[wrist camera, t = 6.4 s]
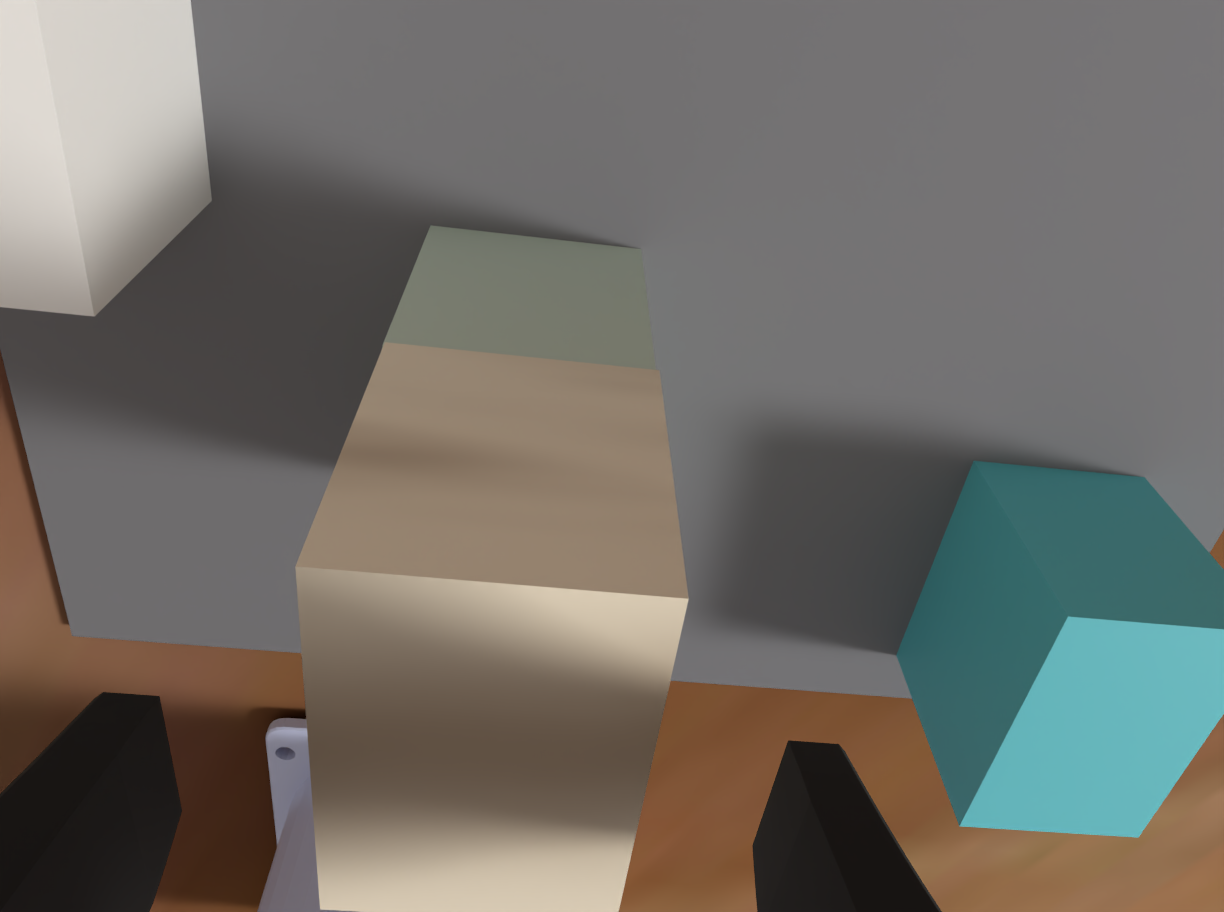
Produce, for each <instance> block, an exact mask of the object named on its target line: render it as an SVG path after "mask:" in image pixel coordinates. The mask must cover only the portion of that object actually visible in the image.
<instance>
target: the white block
mask: <svg viewBox="0 0 1224 912" xmlns="http://www.w3.org/2000/svg"><path fill="white" fill-rule="evenodd" d="M211 201H212V197H211V187H210V178H209V168H208V159H207V150H206V140H205V131H204V121H203V112H202V102H201V93H200V83H199V74H198V65H197V55H196V46H195V36H194V27H193V17H192V8H191V0H0V307H5V308H15V309H25V310H35V311H45V312H54V313H64V314H74V315H84V316H94V317H95V316H96V315H97V314H98V313H99V312H100V311H101V310H102V309H103V308H104V307H105V306H106V305H107V304H108V303H109V302H110V301H111V300H112V299H113V298H114V297H115V296H116V295H117V294H118V293H119V292H120V291H121V290H122V289H123V288H124V287H125V286H126V285H127V284H128V283H129V282H130V281H131V280H132V279H133V278H134V277H135V276H136V275H137V274H138V273H139V272H140V271H141V270H142V269H143V268H144V267H145V266H146V265H147V264H148V263H149V262H150V261H151V260H152V259H153V258H154V257H155V256H156V255H157V254H158V253H159V252H160V251H161V250H162V249H163V248H165V247H166V246H167V245H168V244H169V243H170V242H171V241H172V240H173V239H174V238H175V237H176V236H177V235H178V234H179V233H180V232H181V231H182V230H183V229H184V228H185V227H186V226H187V225H188V224H189V223H190V222H191V221H192V220H193V219H194V218H195V217H196V216H197V215H198V214H199V213H200V212H201V211H202V210H203V209H204V208H205V207H206V206H207V205H208V204H209V203H210V202H211Z"/></svg>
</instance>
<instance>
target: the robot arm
mask: <svg viewBox="0 0 1224 912" xmlns="http://www.w3.org/2000/svg"><path fill="white" fill-rule="evenodd" d="M265 739H266V748H267V757H268V766H269V775H270V785H271V794H272V803H273V812H274V821H275V831H276V840H277V849H276V853H275V856H274V859H273V862H272V866H271V869H270V872H269V875H268V879H267V882H266V885H265V888H264V892H263V895H262V898H261V901H260V905H259V908H258V911H257V912H358V911H339V910H320V902H319V888H318V874H317V861H316V847H315V833H314V819H313V805H312V791H311V777H310V763H309V749H308V735H307V722H306V719H297V718H279V719H277V720H274V721H273V722H272V723H271V724H270V725H269V728H268V731H267V733H266V738H265ZM286 747H287V748H286ZM181 812H182V809H181V804H180V799H179V794H178V788H177V783H176V778H175V773H174V768H173V763H172V758H171V753H170V748H169V743H168V738H167V733H166V728H165V722H164V717H163V712H162V707H161V702H160V697H159V696H149V695H135V694H121V693H106V692H103V693H102V694H100V695H99V696H97V697H96V698H95V699H94V700H93V701H92V702H91V703H90V704H89V705H88V706H87V707H86V708H85V709H84V710H83V711H82V712H81V713H80V714H79V715H78V716H77V717H76V718H75V719H74V720H73V721H72V722H71V723H70V724H69V725H68V726H67V727H66V728H65V729H64V730H63V731H62V732H61V733H60V734H59V735H58V736H57V737H56V738H55V739H54V740H53V741H52V742H51V743H50V745H49V746H48V747H47V748H46V749H45V750H44V751H43V752H42V753H41V754H40V755H39V756H38V757H37V758H36V759H35V760H34V761H33V762H32V763H31V764H30V765H29V766H28V767H27V768H26V769H25V770H24V771H23V772H22V773H21V774H20V775H19V776H18V777H17V778H16V779H15V780H14V781H13V782H12V783H11V784H10V785H9V786H8V787H7V788H6V789H5V790H4V791H3V792H2V793H1V794H0V912H149V911H150V909H151V906H152V904H153V902H154V898H155V895H156V892H157V889H158V886H159V883H160V880H161V877H162V874H163V871H164V868H165V865H166V862H167V858H168V855H169V852H170V849H171V845H172V842H173V839H174V835H175V832H176V829H177V825H178V822H179V819H180V816H181ZM753 859H754V873H755V887H756V899H757V910H758V912H942V911H941V910H940V908H939V907H938V905H937V904H936V902H935V901H934V899H933V898H932V896H931V895H930V893H929V892H928V890H927V888H926V887H925V885H924V884H923V882H922V881H921V879H920V878H919V876H918V874H917V873H916V871H915V870H914V868H913V866H912V865H911V863H910V862H909V860H908V858H907V857H906V855H905V853H904V852H903V850H902V849H901V847H900V845H899V844H898V842H897V840H896V839H895V837H894V835H893V834H892V832H891V830H890V829H889V827H888V825H887V824H886V822H885V820H884V819H883V817H882V815H881V814H880V812H879V810H878V808H877V807H876V805H875V803H874V802H873V800H872V798H871V796H870V795H869V793H868V791H867V790H866V788H865V786H864V784H863V783H862V781H861V779H860V777H859V776H858V774H857V772H856V770H855V769H854V767H853V765H852V763H851V762H850V760H849V758H848V756H847V754H846V753H845V751H844V750H843V749H842V748H841V746H840V745H839V744H829V743H815V742H801V741H788V743H787V746H786V749H785V752H784V755H783V758H782V761H781V764H780V767H779V769H778V772H777V775H776V778H775V781H774V784H773V787H772V790H771V793H770V796H769V799H768V802H767V805H766V808H765V811H764V814H763V817H762V819H761V822H760V825H759V828H758V831H757V834H756V837H755V840H754V843H753Z"/></svg>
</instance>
